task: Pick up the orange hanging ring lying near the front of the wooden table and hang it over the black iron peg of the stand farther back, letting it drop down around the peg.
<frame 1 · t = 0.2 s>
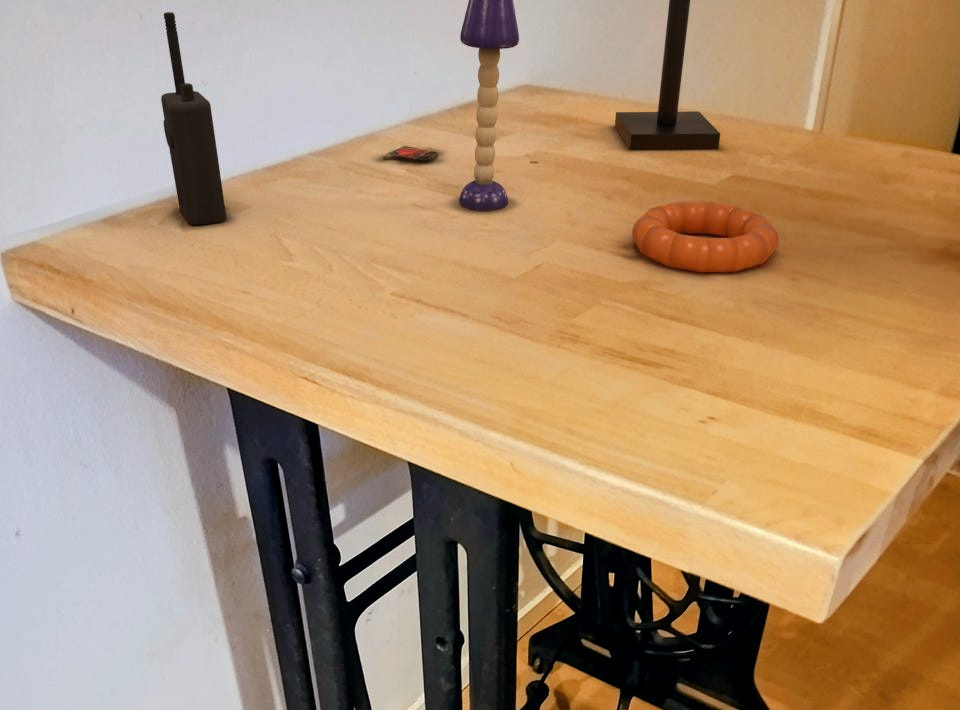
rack: (664, 137, 106), on the table
walkie-talkie: (201, 218, 85), on the table
toy lamp: (486, 206, 88), on the table
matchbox: (415, 157, 100), on the table
ring: (704, 235, 78), point 1 cm above the table
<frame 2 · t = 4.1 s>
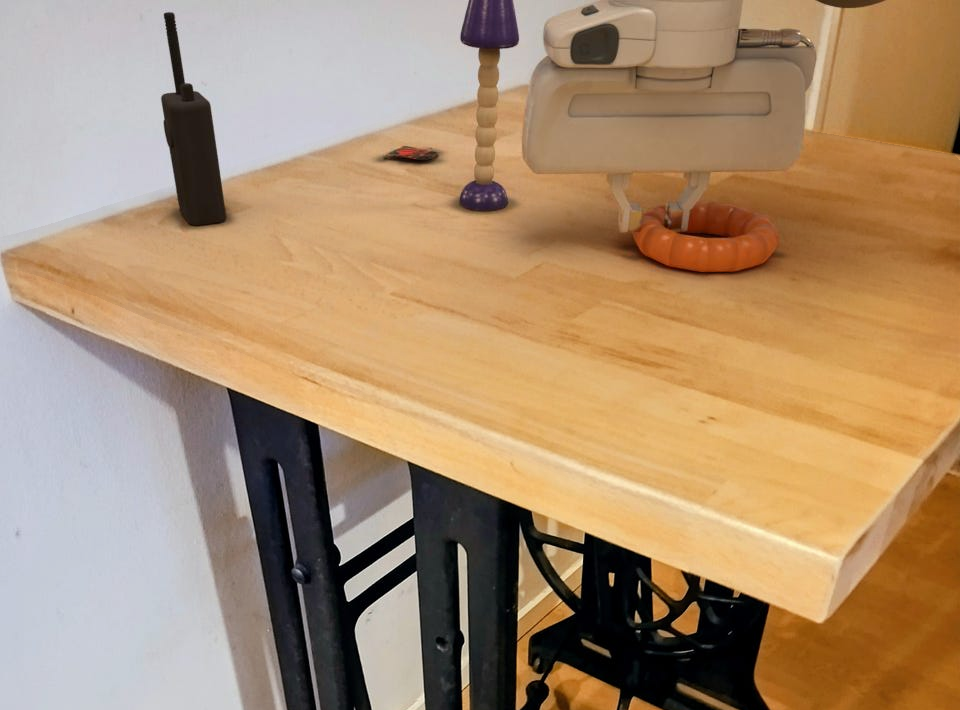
hand: (651, 229, 78), 2 cm above the table, tool pointing down, fingers closed on ring, 2 cm apart
ring: (704, 235, 78), point 1 cm above the table, touching gripper
everything else where it was.
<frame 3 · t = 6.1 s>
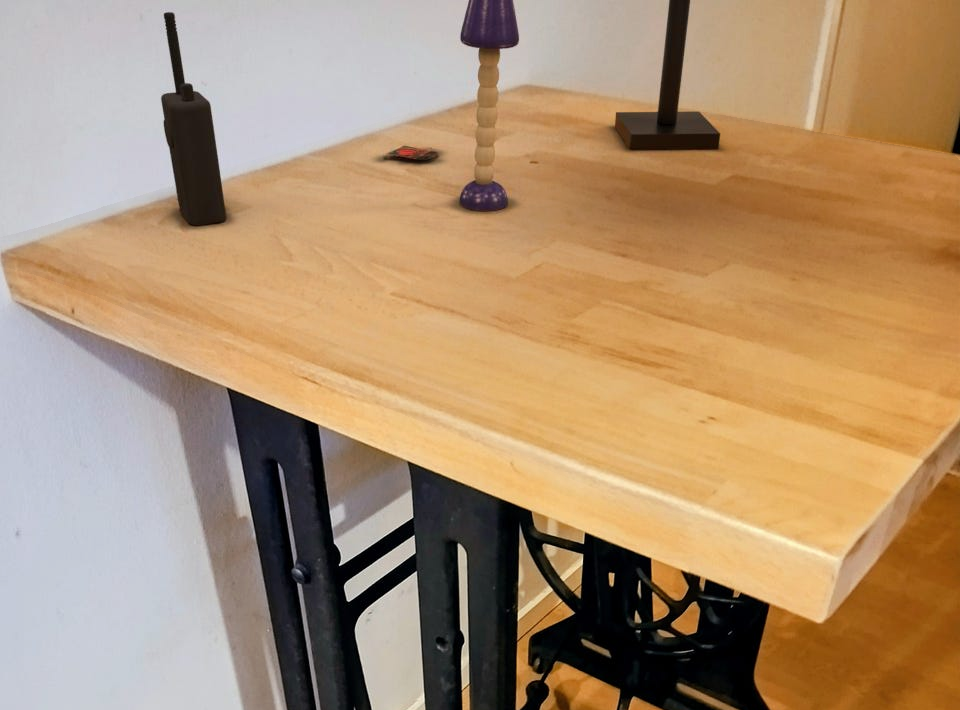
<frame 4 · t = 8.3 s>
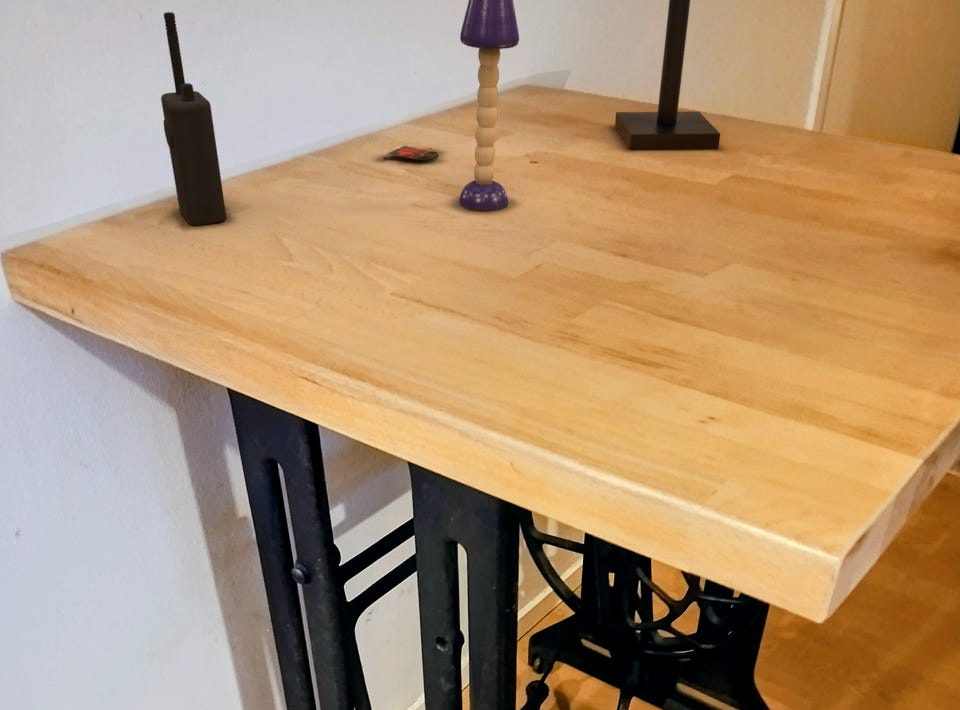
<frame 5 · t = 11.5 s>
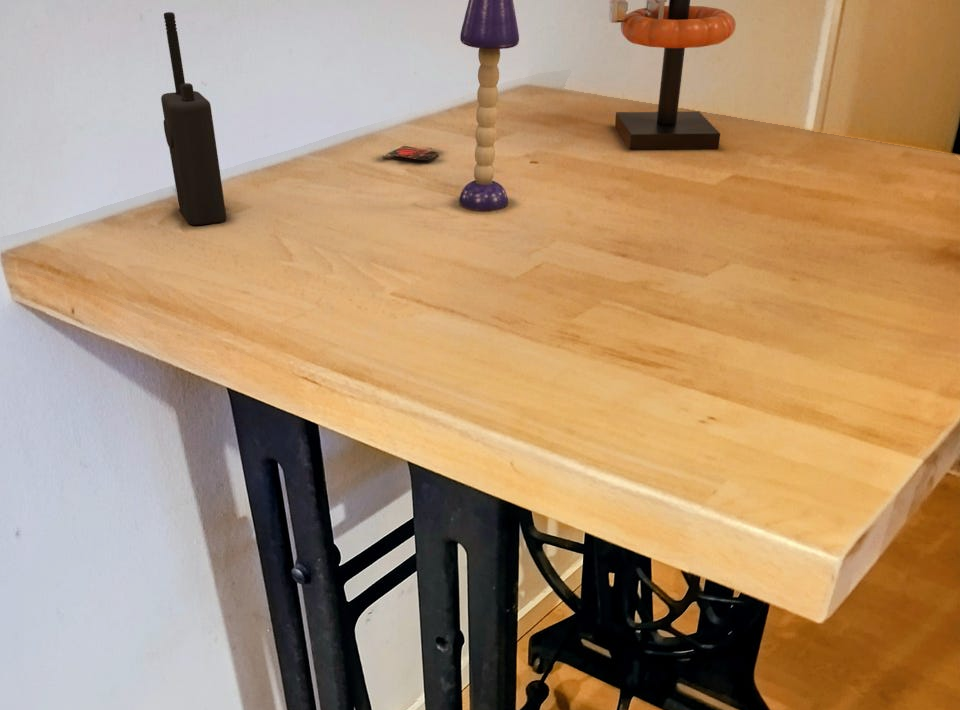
hand: (635, 21, 99), 11 cm above the table, tool pointing down, fingers closed on ring, 2 cm apart
ring: (677, 26, 100), point 10 cm above the table, touching gripper
everything else where it was.
when the fingers open (11 cm above the table, at t = 12.6 s): ring drops 8 cm, resting on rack.
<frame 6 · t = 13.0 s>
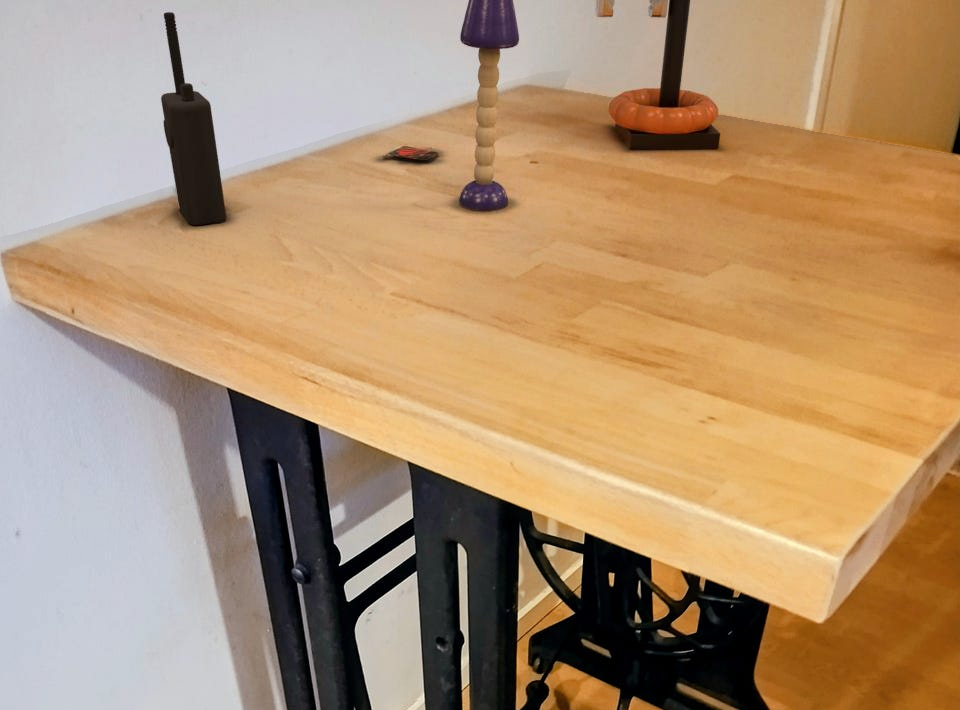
hand: (630, 16, 99), 11 cm above the table, tool pointing down, fingers open, 4 cm apart
ring: (662, 110, 104), point 3 cm above the table, touching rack
everything else where it was.
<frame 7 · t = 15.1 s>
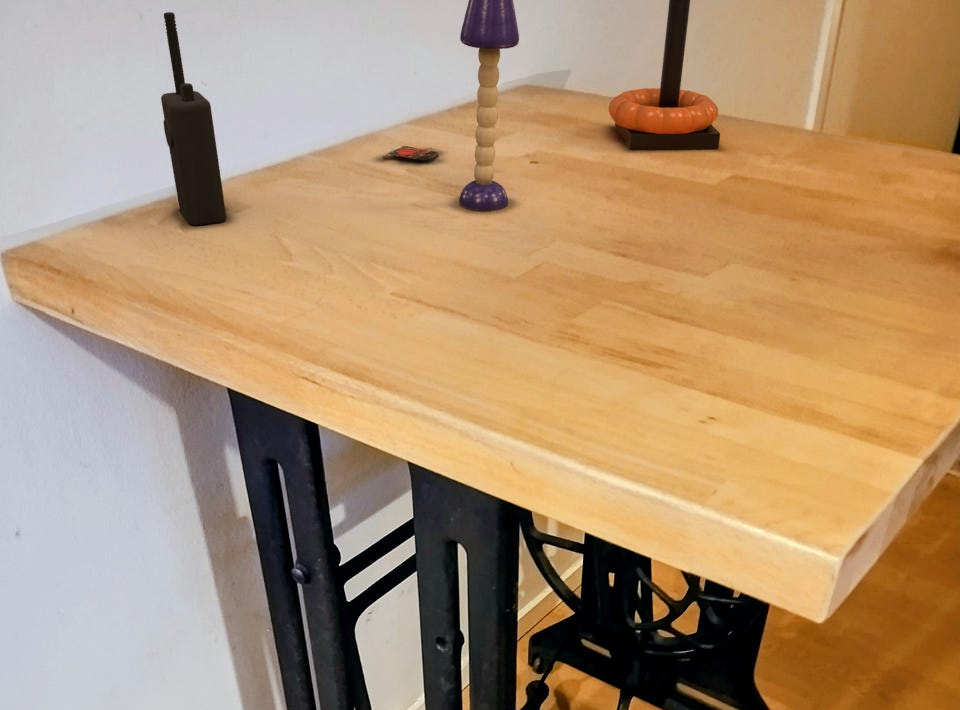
nothing on the table moved.
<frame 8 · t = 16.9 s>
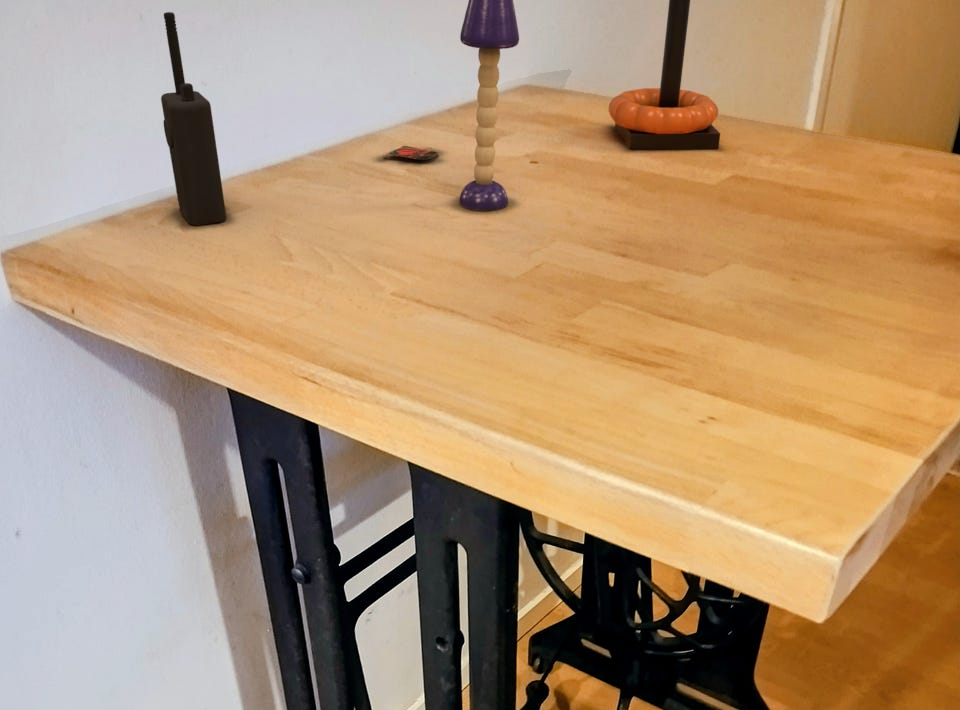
nothing on the table moved.
at the end: ring 0.5 cm off-centre on the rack, point 2.7 cm above the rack's base; the gripper is holding nothing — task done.
